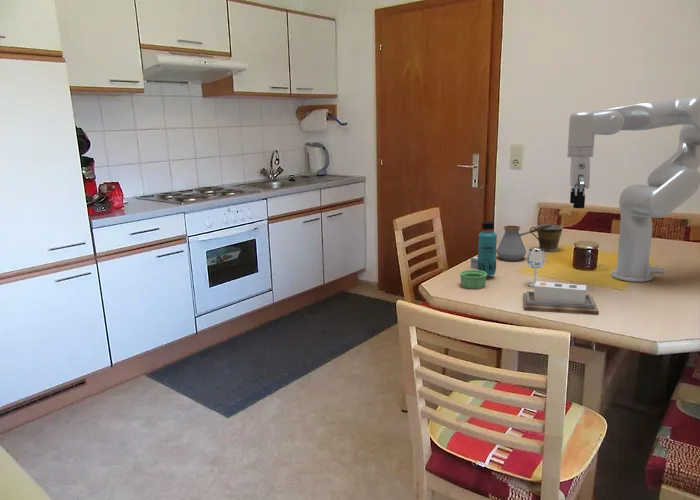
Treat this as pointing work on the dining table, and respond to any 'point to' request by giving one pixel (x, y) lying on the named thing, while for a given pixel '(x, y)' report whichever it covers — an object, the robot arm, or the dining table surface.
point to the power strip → (559, 292)
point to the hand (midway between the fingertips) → (576, 205)
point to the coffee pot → (514, 243)
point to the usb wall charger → (474, 262)
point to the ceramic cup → (549, 237)
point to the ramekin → (473, 279)
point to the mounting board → (560, 305)
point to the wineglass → (535, 261)
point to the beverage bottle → (487, 249)
